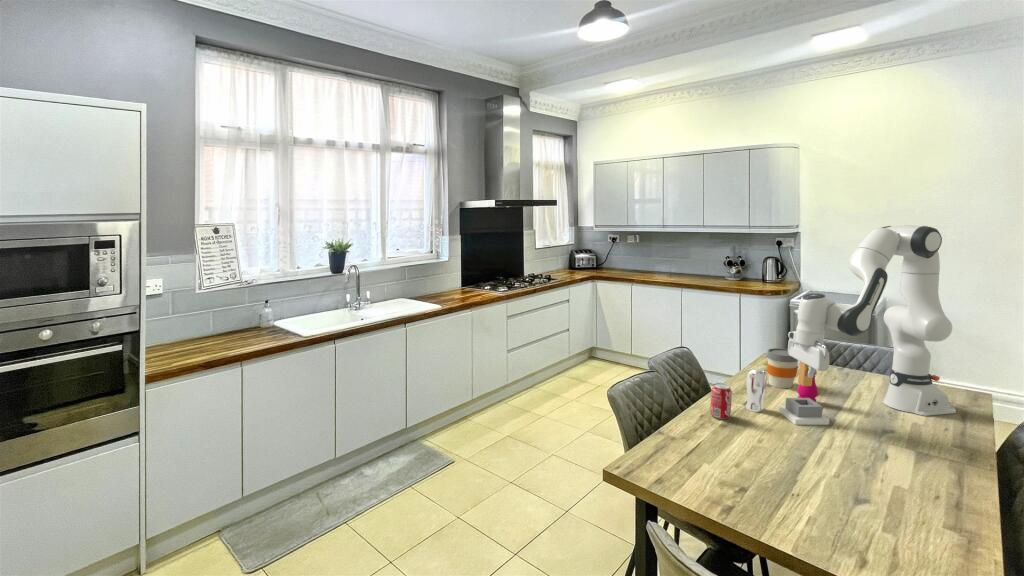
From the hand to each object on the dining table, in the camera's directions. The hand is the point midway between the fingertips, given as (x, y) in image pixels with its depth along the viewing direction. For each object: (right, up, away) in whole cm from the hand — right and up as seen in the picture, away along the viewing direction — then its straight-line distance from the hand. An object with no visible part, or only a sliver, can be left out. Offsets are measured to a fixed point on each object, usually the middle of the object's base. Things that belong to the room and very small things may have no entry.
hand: (805, 375), depth 179 cm
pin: (0, -4, +1) cm, 4 cm away
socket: (0, -16, +3) cm, 17 cm away
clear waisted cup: (-13, -15, +11) cm, 23 cm away
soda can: (-30, -17, +4) cm, 34 cm away
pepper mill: (+11, -14, +17) cm, 25 cm away
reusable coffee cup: (+11, -11, +37) cm, 40 cm away
